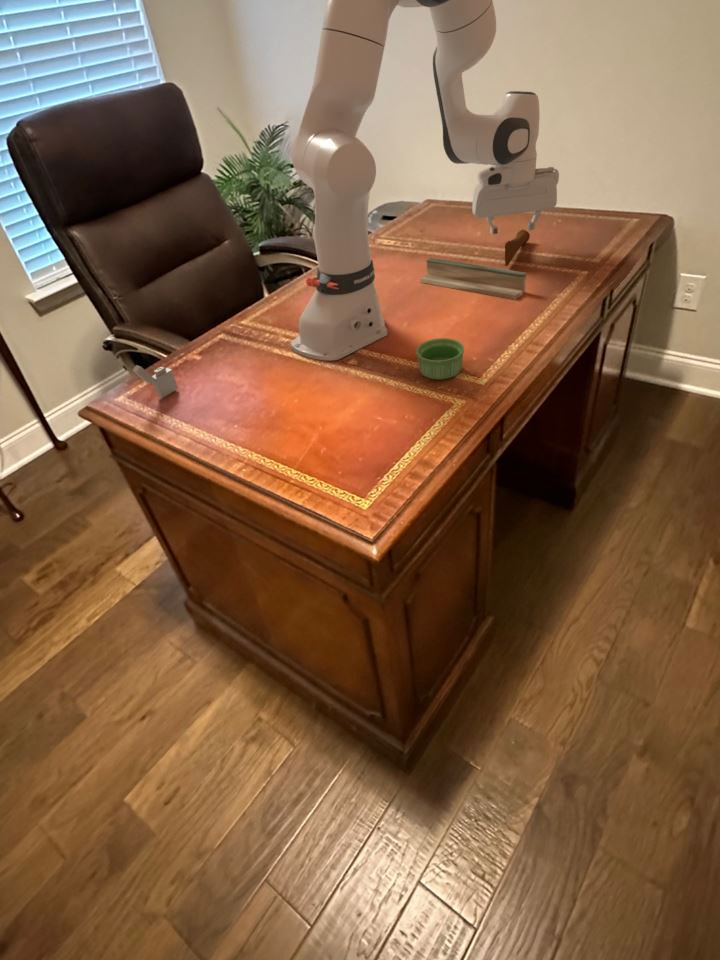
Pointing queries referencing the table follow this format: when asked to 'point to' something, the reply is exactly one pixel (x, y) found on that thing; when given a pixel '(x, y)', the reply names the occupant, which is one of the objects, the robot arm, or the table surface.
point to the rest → (475, 278)
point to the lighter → (158, 380)
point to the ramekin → (440, 358)
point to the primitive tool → (515, 245)
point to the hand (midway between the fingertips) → (512, 231)
